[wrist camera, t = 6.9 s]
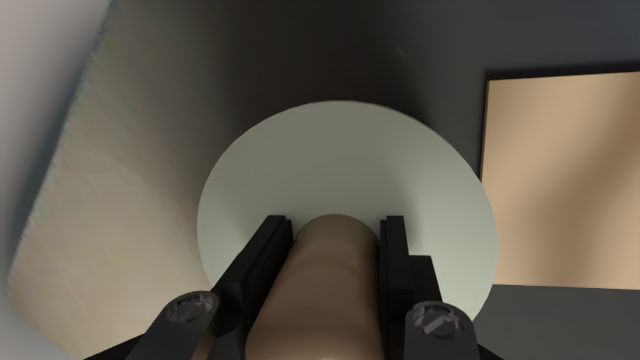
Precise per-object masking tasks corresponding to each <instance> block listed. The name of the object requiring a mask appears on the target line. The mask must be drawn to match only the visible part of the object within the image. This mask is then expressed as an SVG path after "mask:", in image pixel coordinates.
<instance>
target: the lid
mask: <svg viewBox="0 0 640 360" xmlns="http://www.w3.org/2000/svg"><path fill="white" fill-rule="evenodd" d="M268 215H285V217H286V219H290V220H291V223H292V232H293V244H292V246H291V248H290V250H289V252H288V254H287V257H286V259H285V261H284V263H283V265H282V267H281V269H280V271H279V273H278V275H277V277H276V279H275V281H274V283H273V285H272V287H271V289H270V291H269V294H268V296H267V298H266V300H265V302H264V304H263V306H262V308H261V310H260V312H259V314H258V316H257V318H256V320H255V322H254V324H253V326H252V328H251V331H250V333H249V335H248V337H247V341H246V348H245V354H246V360H384V344H383V337H382V333H381V330H380V285H379V283H380V220H387V216H404V223H405V230H406V237H407V243H408V250H409V255H430V256H431V258H432V262H433V265H434V269H435V273H436V277H437V281H438V285H439V289H440V292H441V296H442V300H443V302H444V303H448V304H451V305H453V306H456V307H458V308H459V309H461V310H462V311H464V312H465V313H466V314H467V315H468V316H469V317H470V319H471V321H473V319H474V318H475V316H476V315H477V314H478V312H479V311H480V310H481V308H482V306H483V304H484V302H485V300H486V298H487V296H488V295H489V292H490V289H491V286H492V283H493V280H494V278H495V272H496V267H497V261H498V234H497V227H496V220H495V217H494V214H493V210H492V207H491V204H490V201H489V199H488V197H487V195H486V192H485V190H484V188H483V186H482V184H481V182H480V181H479V179H478V178H477V176H476V175H475V173H474V172H473V170H472V169H471V167H470V166H469V165H468V163H467V162H466V161H465V160H464V159H463V158H462V157H461V155H460V154H459V153H458V152H457V151H456V150H455V149H454V148H453V147H452V146H451V144H450V143H449V142H447V141H446V140H445V139H444V138H443V137H441V136H440V135H439V134H438V133H436V132H435V131H434V130H433V129H431V128H430V127H428V126H426V125H425V124H423V123H422V122H420V121H418V120H417V119H415V118H413V117H411V116H408V115H406V114H404V113H402V112H399V111H397V110H395V109H391V108H388V107H385V106H381V105H378V104H374V103H368V102H361V101H354V100H328V101H319V102H311V103H308V104H304V105H300V106H296V107H292V108H290V109H287V110H285V111H283V112H280V113H278V114H275V115H273V116H271V117H269V118H267V119H265V120H264V121H262V122H260V123H259V124H257V125H255V126H254V127H252V128H250V129H249V130H248V131H246V132H245V133H244V134H243V135H241V136H240V137H239V138H238V139H237V140H235V141H234V142H233V143H232V144H231V146H230V147H229V148H228V149H227V150H226V151H225V152H224V153H223V154H222V156H221V157H220V159H219V160H218V162H217V163H216V165H215V166H214V167H213V169H212V171H211V173H210V175H209V177H208V179H207V181H206V183H205V186H204V189H203V192H202V195H201V199H200V202H199V209H198V215H197V240H198V248H199V253H200V257H201V261H202V265H203V268H204V271H205V273H206V276H207V278H208V281H209V283H210V285H211V287H212V288H213V287H214V285H215V284H216V283H217V281H218V280H219V279H220V277H221V276H222V275H223V273H224V272H225V271H226V269H227V268H228V267H229V265H230V264H231V263H232V261H233V260H234V259H235V257H236V256H237V255H238V253H240V252H241V251H242V250H243V248H244V247H245V245H246V244H247V243H248V241H249V240H250V239H251V237H252V236H253V235H254V233H255V232H256V231H257V229H258V228H259V227H260V225H261V224H262V223H263V221H264V220H265V219H266V217H267V216H268Z"/></svg>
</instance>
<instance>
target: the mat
mask: <svg viewBox="0 0 640 360" xmlns="http://www.w3.org/2000/svg"><path fill="white" fill-rule="evenodd" d="M480 182H481V184H482V186H483V188H484V190H485V192H486V195H487V197H488V199H489V201H490V204H491V207H492V210H493V214H494V217H495V220H496V227H497V234H498V261H497V267H496V272H495V278H494V280H493V283H492V284H508V285H535V286H561V287H588V288H615V289H640V71H638V72H622V73H605V74H588V75H572V76H555V77H539V78H522V79H505V80H489V81H487V87H486V101H485V114H484V128H483V141H482V154H481V168H480Z"/></svg>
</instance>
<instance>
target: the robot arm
mask: <svg viewBox="0 0 640 360" xmlns="http://www.w3.org/2000/svg"><path fill="white" fill-rule="evenodd" d="M292 244H293V232H292V223H291V220H290V219H286V217H285V215H268V216H267V217H266V219H265V220H264V221H263V223H262V224H261V225H260V227H259V228H258V229H257V231H256V232H255V233H254V235H253V236H252V237H251V239H250V240H249V241H248V243H247V244H246V245H245V247H244V248H243V250H242V251H241V252H240V253H238V255H237V256H236V257H235V259H234V260H233V261H232V263H231V264H230V265H229V267H228V268H227V269H226V271H225V272H224V273H223V275H222V276H221V277H220V279H219V280H218V281H217V283H216V284H215V285H214V287H213V288H212V289H211V291H193V292H189V293H186V294H183V295H181V296H179V297H177V298H175V299H174V300H172V301H171V302H169V303H168V304H167V305H166V306H165V307H164V308H163V310H162V311H161V312H160V314H159V315H158V316H157V318H156V319H155V320H154V322H153V323H152V324H151V326H150V327H149V328H148V330H147V331H146V332H145V333H144V334H142V335H139V336H137V337H135V338H132V339H130V340H128V341H125V342H123V343H121V344H118V345H116V346H114V347H111V348H109V349H107V350H105V351H102V352H100V353H98V354H95V355H93V356H91V357H88V358H86V359H84V360H246V354H245V348H246V341H247V337H248V335H249V333H250V331H251V328H252V326H253V324H254V322H255V320H256V318H257V316H258V314H259V312H260V310H261V308H262V306H263V304H264V302H265V300H266V298H267V296H268V294H269V291H270V289H271V287H272V285H273V283H274V281H275V279H276V277H277V275H278V273H279V271H280V269H281V267H282V265H283V263H284V261H285V259H286V257H287V254H288V252H289V250H290V248H291V246H292ZM379 285H380V330H381V333H382V337H383V344H384V360H504V359H502V358H500V357H499V356H497V355H495V354H494V353H492V352H491V351H489V350H487V349H486V348H484V347H483V346H481V345H479V344H478V343H477V340H476V335H475V331H474V326H473V323H472V321H471V319H470V317H469V316H468V315H467V314H466V313H465V312H464V311H462V310H461V309H459V308H458V307H456V306H453V305H451V304H448V303H444V302H443V300H442V296H441V292H440V289H439V285H438V281H437V277H436V273H435V269H434V265H433V262H432V258H431V256H430V255H409V250H408V243H407V237H406V230H405V223H404V216H387V220H380V283H379Z"/></svg>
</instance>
